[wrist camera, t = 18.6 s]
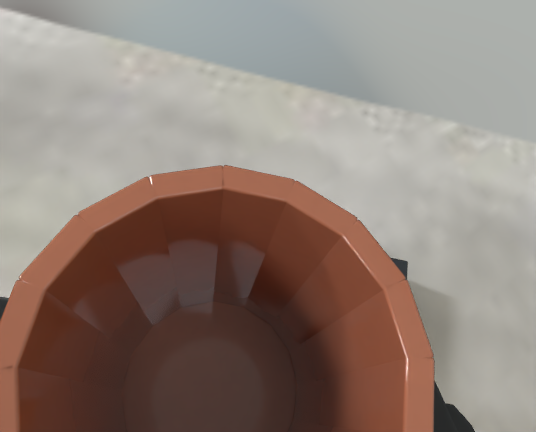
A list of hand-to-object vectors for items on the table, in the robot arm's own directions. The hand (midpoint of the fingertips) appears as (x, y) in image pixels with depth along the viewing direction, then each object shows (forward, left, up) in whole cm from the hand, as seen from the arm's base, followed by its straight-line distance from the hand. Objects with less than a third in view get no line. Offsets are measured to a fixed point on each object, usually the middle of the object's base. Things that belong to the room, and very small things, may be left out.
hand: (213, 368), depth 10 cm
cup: (0, 0, -7) cm, 7 cm away
